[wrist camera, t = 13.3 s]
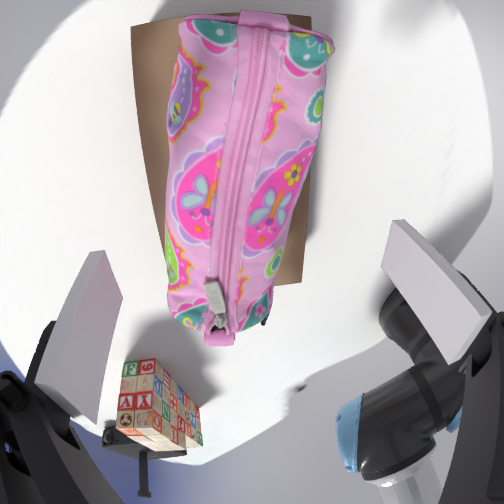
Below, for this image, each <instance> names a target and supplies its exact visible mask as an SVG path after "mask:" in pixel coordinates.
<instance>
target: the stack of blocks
mask: <svg viewBox="0 0 504 504" xmlns="http://www.w3.org/2000/svg"><path fill="white" fill-rule="evenodd" d="M116 429H118V430H119V431H121V432H123V433H124V434H126V435H127V437H129V438H131V439H132V440H134V441H136V442H138V443H140V444H142V445H144V446H147V447H148V448H150V449H152V450H154V451H173V450H186V448H193V447H203V441H202V434H201V424H200V414H199V408H198V407H197V406H196V405H195V404H194V403H193V402H192V401H191V399H189V397H188V396H187V395H186V394H185V393H184V392H183V391H182V390H181V389H180V387H179V386H178V385H177V384H176V383H175V382H174V381H173V379H172V378H171V377H170V375H169V374H168V373H167V372H166V371H165V369H164V368H163V367H162V365H161V364H160V363H159V362H158V360H157V359H156V358H155V359H148V360H141V361H135V362H126V363H124V365H123V370H122V380H121V386H120V394H119V399H118V407H117V419H116Z"/></svg>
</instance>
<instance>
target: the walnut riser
mask: <svg viewBox="0 0 504 504" xmlns="http://www.w3.org/2000/svg"><path fill="white" fill-rule="evenodd" d="M274 14H276V13H274ZM207 15H218V16H228V17H234V16H240V13H221V14H207ZM280 15H285V16H286V17H287V19H288V21H289V23H290V24H291V25H294V26H297V27H300V28H303V29H306V30H311V17H310V16H301V15H290V14H280ZM184 18H185V17H179V18H173V19H166V20H161V21H155V22H150V23H145V24H141V25H136V26H132V27H131V50H132V65H133V77H134V88H135V98H136V107H137V115H138V123H139V130H140V137H141V144H142V150H143V156H144V162H145V168H146V173H147V179H148V184H149V189H150V195H151V199H152V204H153V209H154V214H155V218H156V223H157V227H158V232H159V236H160V240H161V244H162V248H163V252H164V256H165V209H166V186H167V176H168V168H169V160H170V151H169V140H168V132H167V111H168V102H169V96H170V91H171V85H172V80H173V74H174V66H175V63H176V60H177V57H178V54H179V53H178V49H179V45H180V44H181V42H182V40H181V38H180V35H179V24H180V23H181V22H183V20H184ZM309 182H310V167H309V170H308V173H307V176H306V178H305V181H304V183H303V186H302V189H301V192H300V195H299V197H298V199H297V202H296V205H295V207H294V210H293V213H292V218H291V222H290V227H289V231H288V236H287V240H286V245H285V250H284V253H283V257H282V260H281V263H280V266H279V268H278V271H277V274H276V280H275V284H274V286H279V285H286V284H293V283H300V282H301V281H302V271H303V261H304V250H305V239H306V227H307V213H308V199H309ZM165 260H166V258H165ZM166 264H167V263H166Z"/></svg>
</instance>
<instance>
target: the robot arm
mask: <svg viewBox="0 0 504 504" xmlns="http://www.w3.org/2000/svg"><path fill="white" fill-rule="evenodd" d="M381 268H382V269H383V270H384V271H385V273H386V274H387V275H388V277H389V278H390V279H391V281H392V282H393V283H394V285H395V286H396V287H397V288H396V289H395V291H394V292H393V293H392V294H391V295H390V297H389V298H388V299H387V301H386V302H385V304H384V306H383V308H382V310H381V313H380V317H379V323H380V326H381V328H382V329H383V331H384V333H385V334H386V336H387V337H388V338H390V339H391V340H393V341H394V342H396V343H397V344H398V345H399V346H400V347H401V348H402V349H403V350H405V351H406V352H407V353H408V354H409V355H410V357H411V359H412V361H413V362H414V364H415V365H414V366H413V367H411V368H410V369H408V370H406V371H404V372H403V373H401V374H399V375H398V376H396V377H394V378H393V379H391V380H389V381H387V382H385V383H384V384H382V385H380V386H378V387H377V388H375V389H373V390H371V391H369V392H367V393H362V394H361V395H360V396H359V397H357V398H356V399H354V400H352V401H350V402H348V403H346V404H345V405H343V406H342V407H341V408H340V409H339V411H338V413H337V416H336V436H337V442H338V447H339V452H340V455H341V459H342V461H343V464H344V465H345V466H346V470H347V471H348V472H349V473H358V472H361V474H362V476H363V479H364V481H365V482H368V483H372V484H375V485H377V486H378V487H379V490H380V493H381V495H382V498H383V501H384V503H385V504H504V312H499V313H497V312H496V311H495V310H494V308H493V307H492V306H491V305H490V304H489V302H488V301H487V300H486V299H485V298H484V296H483V295H482V294H481V293H480V292H479V291H477V289H476V287H475V286H474V285H473V284H471V282H470V281H469V279H468V278H467V277H466V276H465V275H464V274H462V273H460V272H459V271H458V270H456V269H455V268H454V267H453V266H452V265H451V264H450V263H449V262H448V261H447V260H446V259H445V258H444V257H443V256H442V255H441V254H440V253H439V252H438V251H437V250H436V249H435V248H434V247H433V246H432V245H431V244H430V243H429V242H428V241H427V240H426V239H425V238H424V237H423V236H422V235H421V234H420V233H419V232H417V231H416V230H415V229H414V228H413V227H412V226H411V225H410V224H409V223H408V222H406V221H405V220H404V219H403V220H392V224H391V228H390V232H389V237H388V241H387V245H386V249H385V253H384V256H383V260H382V264H381ZM122 299H123V296H122V294H121V292H120V289H119V287H118V284H117V282H116V279H115V277H114V274H113V272H112V269H111V266H110V264H109V261H108V258H107V255H106V253H105V250H101V251H94V252H90V253H89V255H88V257H87V258H86V260H85V262H84V264H83V266H82V268H81V270H80V272H79V274H78V276H77V278H76V280H75V282H74V284H73V286H72V288H71V290H70V292H69V294H68V296H67V298H66V300H65V303H64V305H63V307H62V309H61V312H60V314H59V316H58V319H57V321H51V322H50V323H49V324H48V326H47V327H46V328H45V329H44V331H43V333H42V335H41V338H40V340H39V344H38V345H37V348H36V353H34V356H33V359H32V361H31V364H30V367H29V370H28V373H27V376H26V379H25V382H23V381H21V379H20V378H19V377H18V376H17V375H16V374H15V373H13V372H12V371H4V372H2V373H0V504H125V503H124V502H123V501H122V500H121V498H120V497H119V496H118V495H117V493H116V492H115V491H114V490H113V488H112V487H111V486H110V484H109V483H108V482H107V480H106V479H105V477H104V476H103V475H102V473H101V472H100V470H99V469H98V467H97V466H96V464H95V463H94V461H93V460H92V458H91V457H90V455H89V454H88V452H87V451H86V449H85V447H84V446H83V444H82V442H81V441H80V439H79V437H78V435H77V434H76V432H75V430H74V428H73V427H72V426H71V425H70V423H69V422H70V416H71V417H72V418H73V419H74V420H76V421H77V422H78V423H82V424H89V425H96V424H97V417H98V410H99V403H100V397H101V391H102V385H103V380H104V374H105V369H106V364H107V360H108V355H109V350H110V346H111V342H112V337H113V333H114V329H115V325H116V321H117V317H118V314H119V310H120V306H121V303H122ZM445 427H446V430H447V431H449V432H450V433H452V432H454V431H455V430H456V429H457V428H459V431H458V436H457V441H456V445H455V450H454V454H453V458H452V462H451V466H450V469H449V472H448V476H447V479H446V482H445V485H444V488H443V490H442V488H441V485H440V482H439V479H438V476H437V474H436V471H435V469H434V466H433V463H432V460H431V457H432V454H433V452H434V450H435V448H436V442H435V440H434V437H433V435H434V434H435V433H437V432H439V431H440V430H442V429H443V428H445ZM5 444H6V445H8V446H9V452H7V451H6V448H5Z"/></svg>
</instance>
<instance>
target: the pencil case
mask: <svg viewBox="0 0 504 504" xmlns="http://www.w3.org/2000/svg"><path fill="white" fill-rule="evenodd" d="M179 35H180V38H181V40H182V42H181V44H180V45H179V49H178V53H179V54H178V57H177V60H176V63H175V66H174V74H173V80H172V85H171V91H170V96H169V102H168V111H167V132H168V140H169V151H170V160H169V168H168V176H167V186H166V209H165V258H166V263H167V272H168V278H169V284H168V292H167V301H168V307H169V310H170V312H171V314H172V315H173V317H174V318H175V319H176V320H177V321H179V322H180V323H182V324H183V325H185V326H187V327H190V328H193V329H197V330H198V331H204V345H207V346H230V345H233V343H234V340H235V332H236V333H238V332H241V331H243V330H246V329H248V328H250V327H252V326H254V325H256V324H258V323H259V322H260V321H261V325H262V326H264V325H265V323H266V320H267V318H268V316H269V313H270V309H271V307H272V302H273V288H274V284H275V280H276V274H277V271H278V268H279V266H280V263H281V260H282V257H283V253H284V250H285V245H286V240H287V236H288V231H289V227H290V222H291V218H292V213H293V210H294V207H295V205H296V202H297V199H298V197H299V195H300V192H301V189H302V186H303V183H304V181H305V178H306V176H307V173H308V170H309V167H310V165H311V161H312V158H313V155H314V151H315V148H316V144H317V141H318V138H319V135H320V130H321V124H322V112H323V101H324V92H325V84H326V66H325V62H326V61H327V59H328V57H330V56H331V55H332V54H333V53H334V51H335V47H334V46H333V41H332V39H331V38H329V37H328V36H326V35H324V34H321V33H318V32H315V31H311V30H306V29H303V28H300V27H297V26H294V25H291V24H290V23H289V21H288V19H287V17H286V16H285V15H280V14H274V13H266V12H258V11H240V16H234V17H228V16H218V15H207V14H195V15H189V16H187V17H185V18H184V20H183V22H181V23H180V24H179Z"/></svg>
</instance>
